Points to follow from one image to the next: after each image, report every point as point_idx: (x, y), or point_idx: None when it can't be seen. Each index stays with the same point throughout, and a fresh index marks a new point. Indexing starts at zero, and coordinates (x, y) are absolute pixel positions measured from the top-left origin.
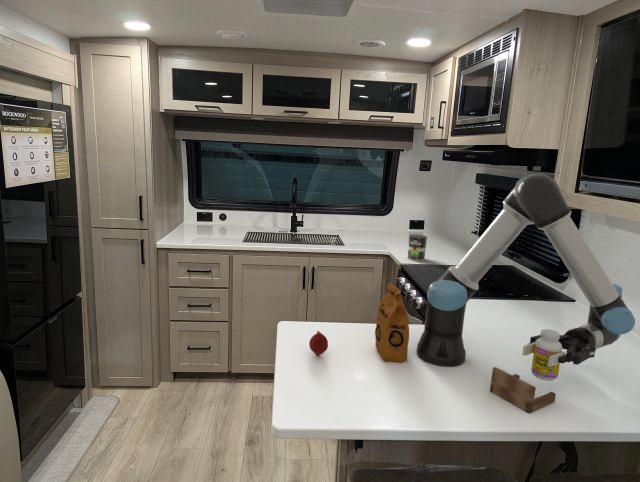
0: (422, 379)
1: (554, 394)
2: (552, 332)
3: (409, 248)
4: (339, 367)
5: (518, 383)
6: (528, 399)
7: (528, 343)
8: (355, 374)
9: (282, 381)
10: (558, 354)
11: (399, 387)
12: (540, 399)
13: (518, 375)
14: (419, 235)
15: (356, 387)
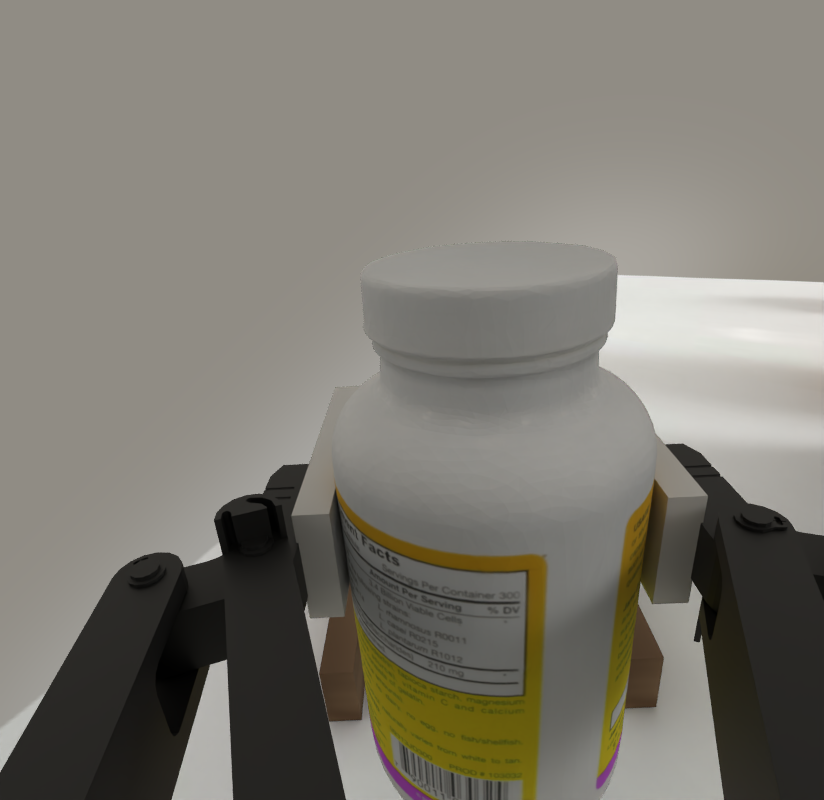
0: (718, 406)
1: (322, 660)
2: (474, 267)
3: None
4: (803, 321)
5: None
6: None
7: (702, 456)
8: (756, 330)
9: (717, 279)
10: (323, 441)
11: (665, 362)
12: None
13: (633, 652)
14: None
15: (677, 323)
